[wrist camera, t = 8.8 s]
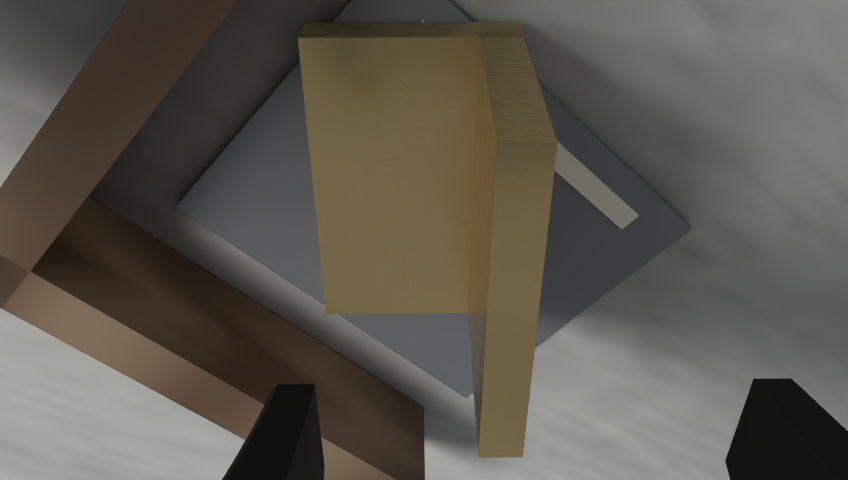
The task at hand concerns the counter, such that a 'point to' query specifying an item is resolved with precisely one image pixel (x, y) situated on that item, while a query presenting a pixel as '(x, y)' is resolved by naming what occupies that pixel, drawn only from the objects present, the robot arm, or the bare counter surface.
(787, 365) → the counter surface
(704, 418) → the counter surface
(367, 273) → the bronze bracket
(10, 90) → the counter surface
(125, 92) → the corner walls
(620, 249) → the mat
